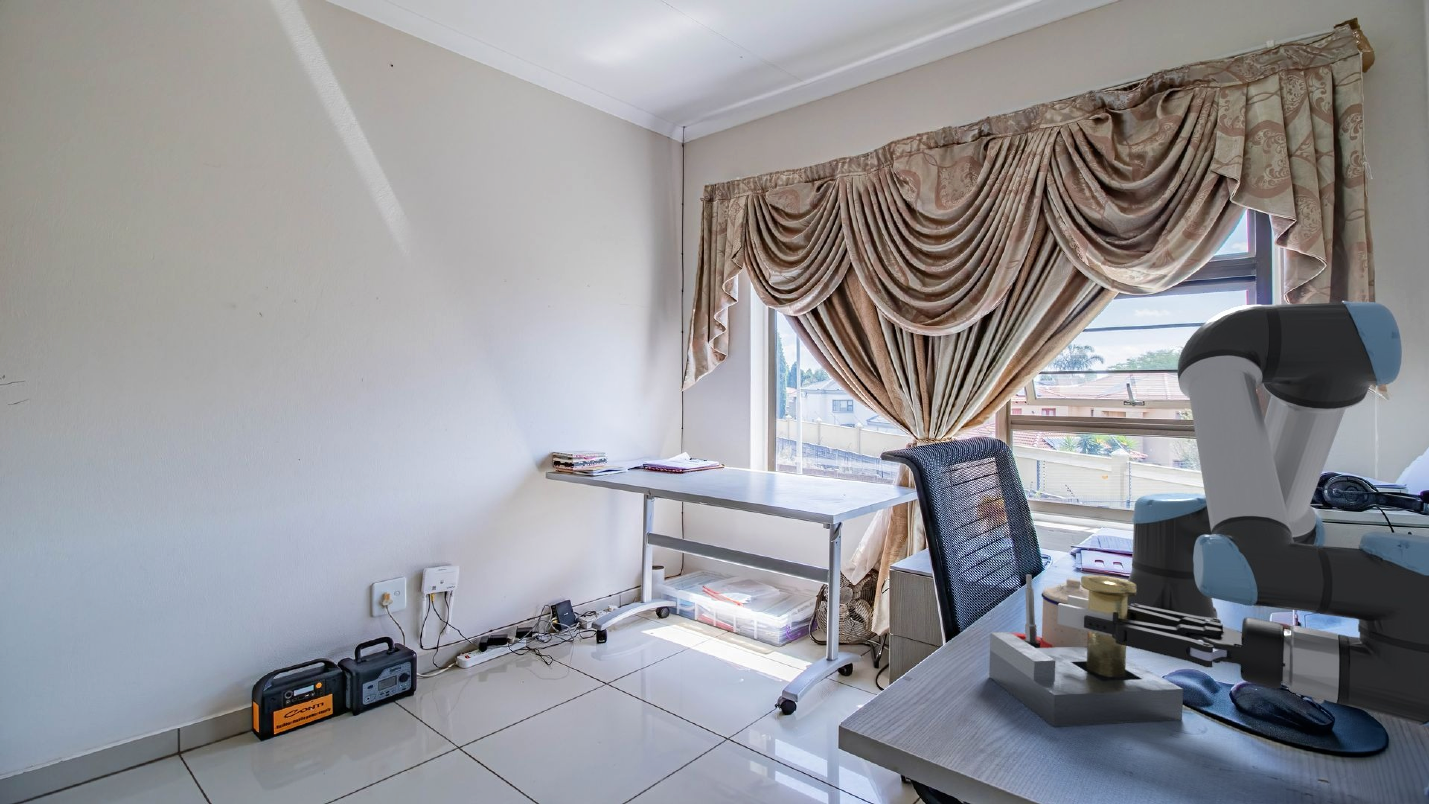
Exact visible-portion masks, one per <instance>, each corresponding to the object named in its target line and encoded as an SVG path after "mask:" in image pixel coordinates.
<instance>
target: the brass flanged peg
mask: <svg viewBox="0 0 1429 804" xmlns="http://www.w3.org/2000/svg"><path fill="white" fill-rule="evenodd" d="M1080 582H1081V585H1080V586H1082V587H1083V588H1084V589H1087V590H1089V598H1088V609H1090V610H1095V611H1100V612H1104V613H1109V614H1113V612H1118V614H1119V618H1120V619H1127V603H1128V596H1134V595H1136V588H1137V586H1136V584H1134V583H1132V582H1130V581H1128V579H1122V578H1118V577H1115V576H1106V575H1098V574H1097V575H1096V574H1095V575H1094V574H1093V575H1091V574H1090V575H1089V574H1088V575H1082V576H1081V578H1080ZM1126 659H1127V646H1124V645H1119V644H1117V643H1115V638H1113V637H1112V636H1108V635H1104V634H1099V633H1095V632H1091V631H1088V634H1087V668H1088V669H1089V670H1090V671H1092V672H1094V673H1097V674H1100V675H1103V676H1108V677H1124V676H1125V674H1126Z"/></svg>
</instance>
